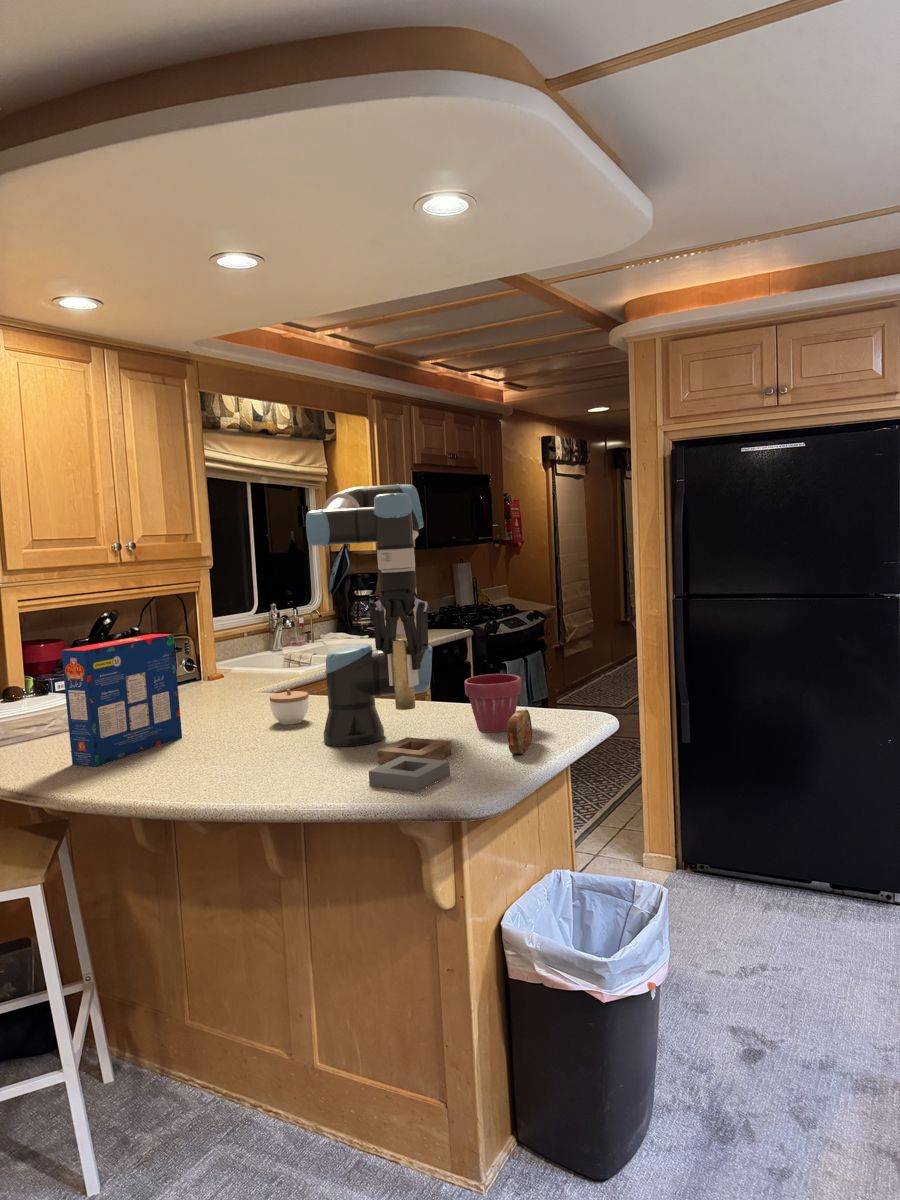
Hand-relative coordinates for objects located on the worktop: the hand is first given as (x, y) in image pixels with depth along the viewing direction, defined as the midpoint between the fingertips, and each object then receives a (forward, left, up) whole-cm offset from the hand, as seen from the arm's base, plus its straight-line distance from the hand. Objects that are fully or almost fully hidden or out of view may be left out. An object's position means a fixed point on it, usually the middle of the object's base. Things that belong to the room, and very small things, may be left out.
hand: (404, 684), depth 169 cm
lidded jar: (-63, +34, -20) cm, 75 cm away
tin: (+11, +29, -20) cm, 37 cm away
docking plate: (0, 0, -20) cm, 20 cm away
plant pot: (-4, +45, -20) cm, 50 cm away
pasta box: (-83, -4, -20) cm, 86 cm away
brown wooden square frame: (-8, +14, -20) cm, 26 cm away
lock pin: (0, 0, -5) cm, 5 cm away
